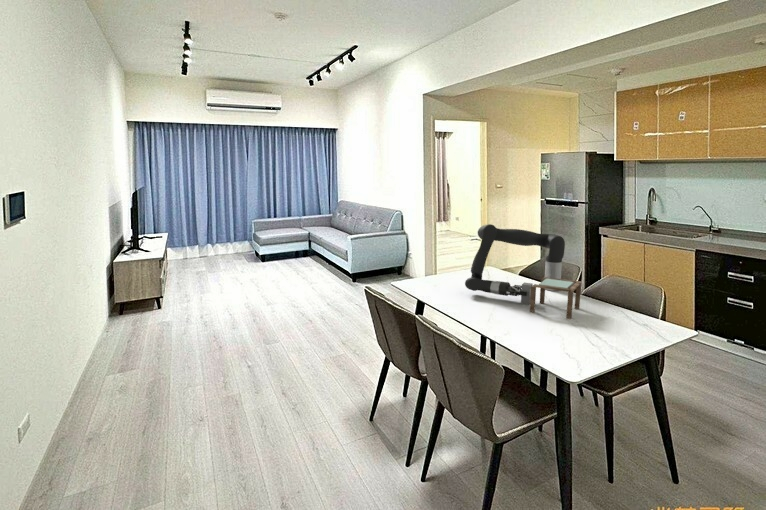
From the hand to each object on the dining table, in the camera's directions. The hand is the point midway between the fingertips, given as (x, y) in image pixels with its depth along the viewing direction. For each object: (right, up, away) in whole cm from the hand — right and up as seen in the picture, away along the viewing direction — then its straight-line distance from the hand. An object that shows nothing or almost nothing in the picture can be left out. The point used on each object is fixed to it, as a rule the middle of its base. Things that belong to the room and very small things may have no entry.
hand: (529, 292), depth 250 cm
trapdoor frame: (+10, -9, -10) cm, 17 cm away
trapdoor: (+10, +5, -13) cm, 17 cm away
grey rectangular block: (-1, -6, +2) cm, 7 cm away
